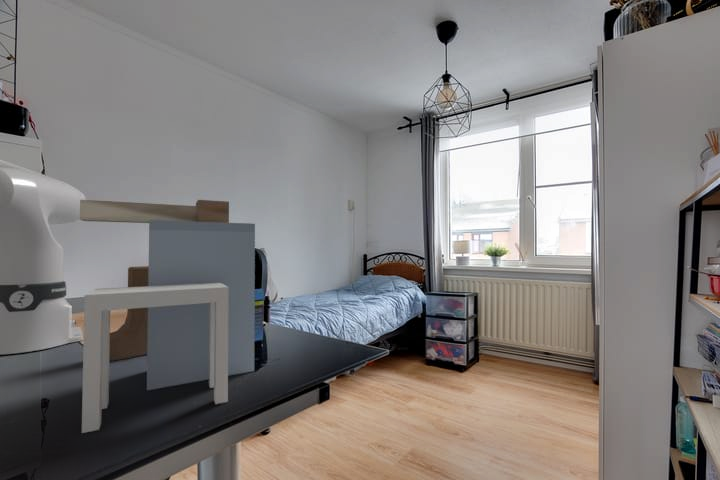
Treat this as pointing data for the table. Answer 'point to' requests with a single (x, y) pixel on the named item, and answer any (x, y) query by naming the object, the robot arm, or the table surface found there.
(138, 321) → the wooden block
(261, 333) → the label tape box
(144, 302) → the stool
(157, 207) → the long tan plank
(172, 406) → the table surface
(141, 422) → the table surface
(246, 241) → the tall blue-grey box
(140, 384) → the table surface
